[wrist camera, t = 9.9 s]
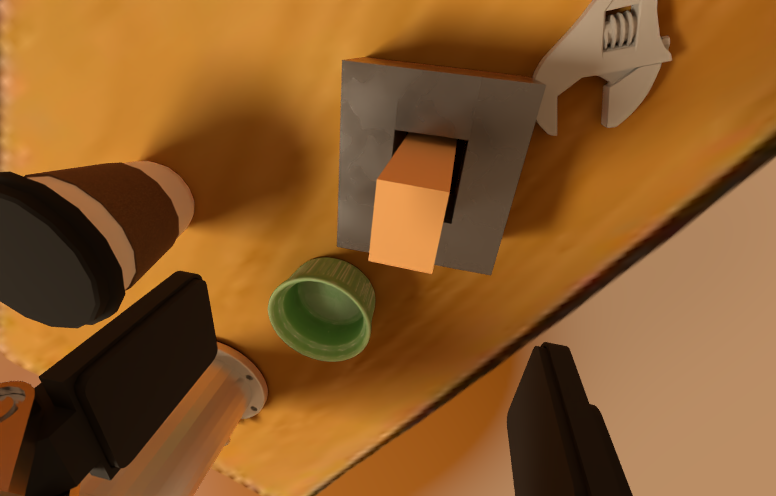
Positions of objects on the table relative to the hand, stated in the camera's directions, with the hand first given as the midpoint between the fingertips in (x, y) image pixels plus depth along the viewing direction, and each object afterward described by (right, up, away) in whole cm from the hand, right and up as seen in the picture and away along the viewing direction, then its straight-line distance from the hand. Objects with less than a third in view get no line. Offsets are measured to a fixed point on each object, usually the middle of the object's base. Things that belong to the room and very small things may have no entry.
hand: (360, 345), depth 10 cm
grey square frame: (+4, +9, +16) cm, 19 cm away
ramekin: (-4, -1, +24) cm, 24 cm away
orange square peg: (+4, +9, +16) cm, 19 cm away
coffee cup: (-19, +8, +22) cm, 30 cm away
